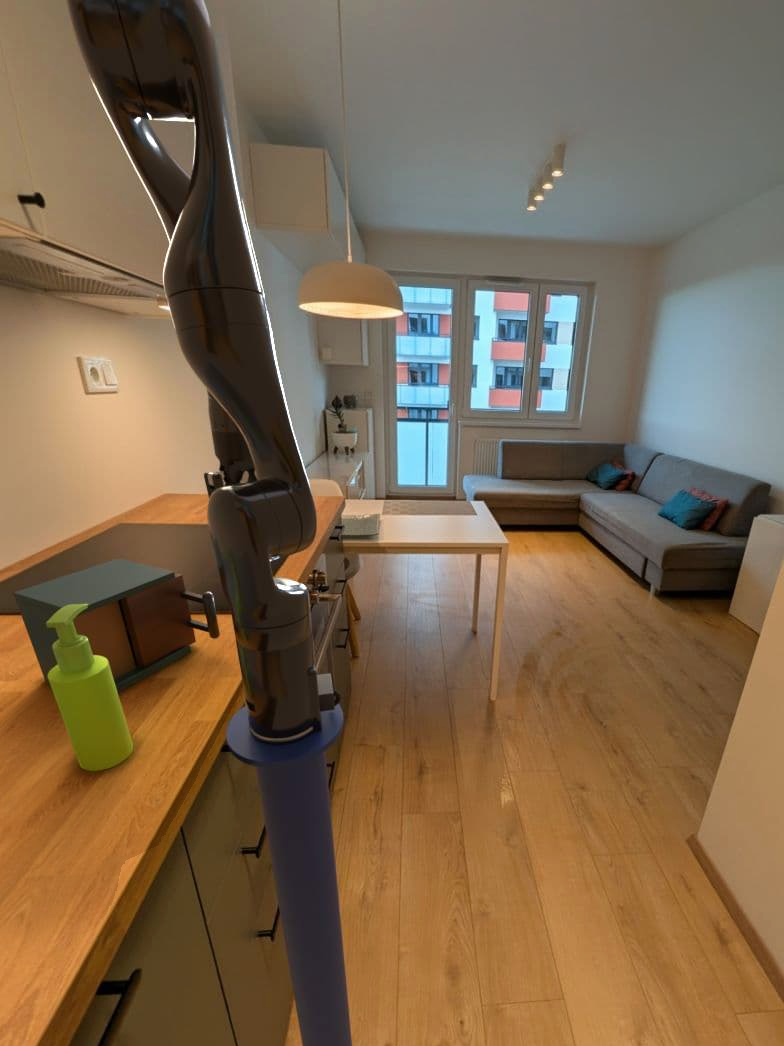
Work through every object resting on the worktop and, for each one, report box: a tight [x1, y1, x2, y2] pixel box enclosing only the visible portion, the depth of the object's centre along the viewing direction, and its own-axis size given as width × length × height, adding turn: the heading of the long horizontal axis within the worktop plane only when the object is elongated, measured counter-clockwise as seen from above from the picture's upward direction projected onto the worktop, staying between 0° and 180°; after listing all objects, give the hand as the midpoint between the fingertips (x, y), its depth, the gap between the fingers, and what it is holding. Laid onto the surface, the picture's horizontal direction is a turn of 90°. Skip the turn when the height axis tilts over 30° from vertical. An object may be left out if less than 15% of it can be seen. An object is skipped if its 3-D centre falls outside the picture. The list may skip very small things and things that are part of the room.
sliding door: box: [120, 572, 221, 669], centre depth 82 cm, size 8×10×13 cm
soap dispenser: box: [46, 604, 134, 772], centre depth 61 cm, size 6×7×20 cm
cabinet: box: [13, 558, 192, 694], centre depth 80 cm, size 13×16×15 cm
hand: (250, 526), depth 89 cm, fingers open, 6 cm apart
